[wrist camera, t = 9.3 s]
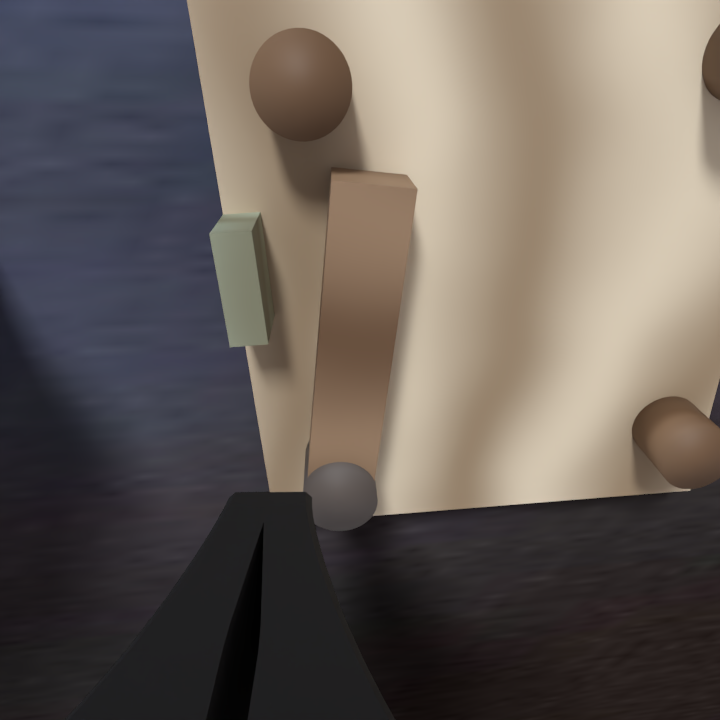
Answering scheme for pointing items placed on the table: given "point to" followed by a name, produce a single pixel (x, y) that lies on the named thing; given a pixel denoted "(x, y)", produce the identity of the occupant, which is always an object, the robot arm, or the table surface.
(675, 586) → the table surface
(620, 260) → the stool seat
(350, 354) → the folding leg
